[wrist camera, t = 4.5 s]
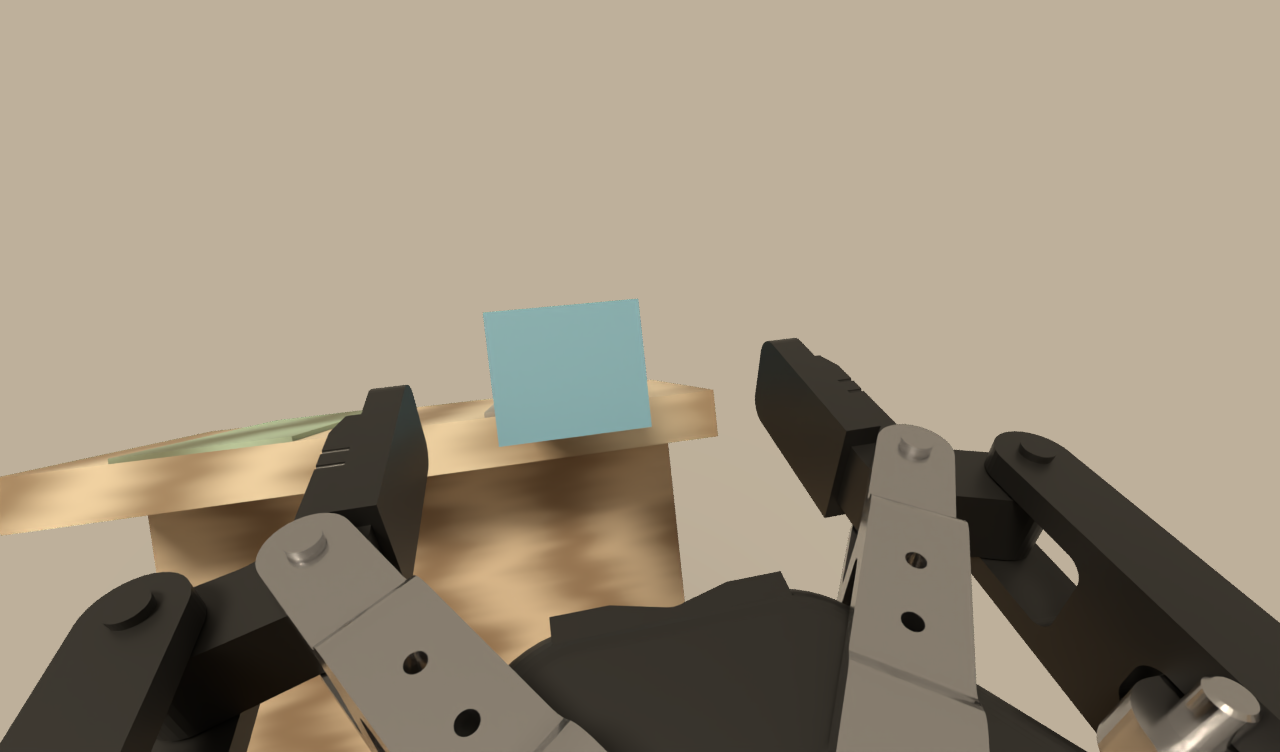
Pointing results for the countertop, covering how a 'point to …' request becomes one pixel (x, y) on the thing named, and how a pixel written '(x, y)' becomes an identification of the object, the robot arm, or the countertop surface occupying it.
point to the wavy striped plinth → (449, 531)
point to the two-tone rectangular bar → (567, 371)
